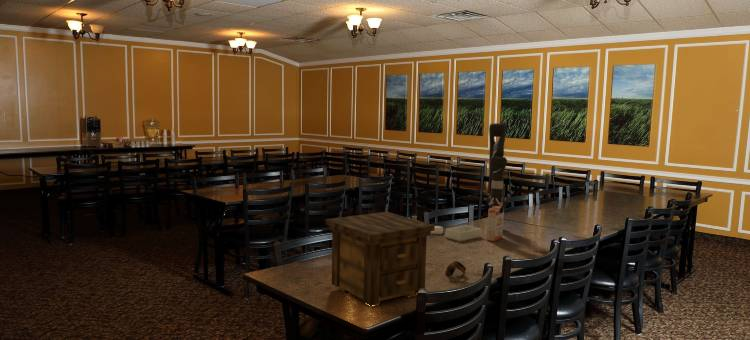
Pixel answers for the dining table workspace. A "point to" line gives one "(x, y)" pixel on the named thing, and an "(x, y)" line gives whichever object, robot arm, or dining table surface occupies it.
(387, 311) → the dining table surface
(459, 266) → the brown curved band
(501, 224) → the cracker box
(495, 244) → the dining table surface
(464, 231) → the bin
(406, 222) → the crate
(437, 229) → the tan small block
